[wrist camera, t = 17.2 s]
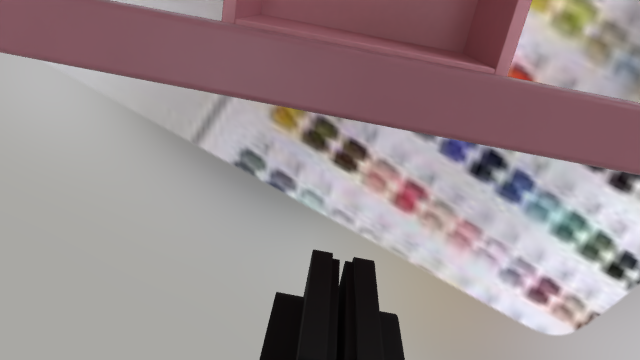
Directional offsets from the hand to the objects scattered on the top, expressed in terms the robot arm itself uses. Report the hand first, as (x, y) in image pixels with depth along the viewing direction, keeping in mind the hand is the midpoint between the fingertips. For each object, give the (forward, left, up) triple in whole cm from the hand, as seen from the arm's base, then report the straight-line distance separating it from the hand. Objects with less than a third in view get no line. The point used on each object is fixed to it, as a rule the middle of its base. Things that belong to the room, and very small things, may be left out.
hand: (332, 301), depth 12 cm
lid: (-6, 0, -3) cm, 7 cm away
